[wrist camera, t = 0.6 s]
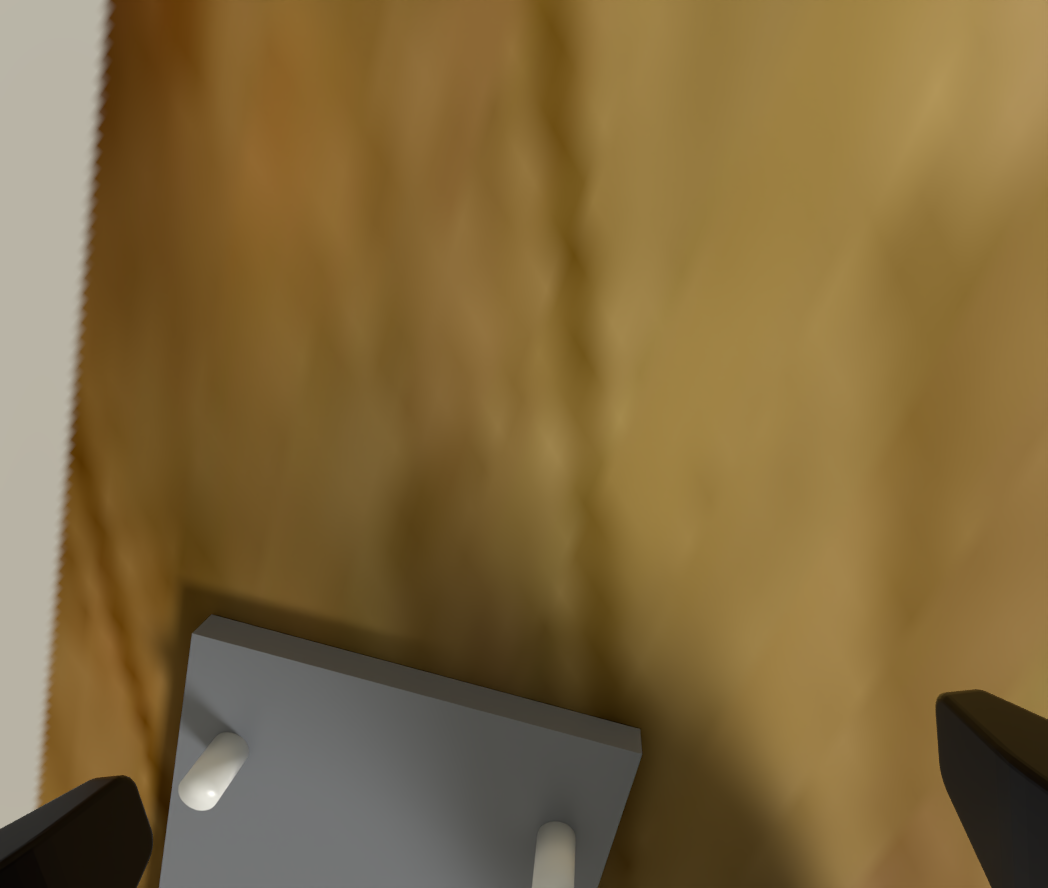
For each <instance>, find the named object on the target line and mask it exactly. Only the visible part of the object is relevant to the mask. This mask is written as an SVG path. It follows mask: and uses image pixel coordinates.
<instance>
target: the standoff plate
mask: <svg viewBox="0 0 1048 888" xmlns="http://www.w3.org/2000/svg"><path fill="white" fill-rule="evenodd" d="M641 757H642V744H641V733H640V729H638V728H634V727H631V726H627V725H623V724H619V723H616V722H612V721H608V720H604V719H601V718H597V717H593V716H589V715H586V714H582V713H578V712H574V711H571V710H567V709H563V708H560V707H556V706H552V705H548V704H545V703H541V702H537V701H533V700H530V699H526V698H522V697H518V696H515V695H511V694H507V693H503V692H500V691H496V690H492V689H488V688H485V687H481V686H477V685H474V684H470V683H466V682H462V681H459V680H455V679H451V678H447V677H444V676H440V675H436V674H432V673H429V672H425V671H421V670H417V669H414V668H410V667H406V666H403V665H399V664H395V663H391V662H388V661H384V660H380V659H376V658H373V657H369V656H365V655H361V654H358V653H354V652H350V651H346V650H343V649H339V648H335V647H332V646H328V645H324V644H320V643H317V642H313V641H309V640H305V639H302V638H298V637H294V636H290V635H287V634H283V633H279V632H275V631H272V630H268V629H264V628H260V627H257V626H253V625H249V624H246V623H242V622H238V621H234V620H231V619H227V618H223V617H219V616H216V615H212V614H211V615H210V616H209V617H208V618H207V619H206V620H205V621H204V622H203V623H202V624H201V625H200V626H199V627H198V628H197V629H196V630H195V631H194V632H193V633H192V638H191V645H190V653H189V661H188V668H187V676H186V684H185V692H184V699H183V707H182V715H181V722H180V730H179V738H178V745H177V753H176V761H175V768H174V776H173V784H172V792H171V799H170V807H169V815H168V822H167V830H166V838H165V845H164V853H163V861H162V868H161V876H160V884H159V888H598V885H599V882H600V879H601V876H602V873H603V870H604V867H605V864H606V861H607V858H608V855H609V852H610V849H611V846H612V843H613V840H614V837H615V834H616V831H617V828H618V825H619V822H620V819H621V816H622V813H623V810H624V807H625V804H626V801H627V798H628V795H629V792H630V789H631V786H632V783H633V780H634V777H635V775H636V772H637V769H638V766H639V763H640V760H641Z"/></svg>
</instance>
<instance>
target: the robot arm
mask: <svg viewBox="0 0 1048 888" xmlns="http://www.w3.org/2000/svg"><path fill="white" fill-rule="evenodd" d="M936 724H937V738H938V752H939V764H940V770H941V775H942V779H943V782H944V785H945V788H946V790H947V792H948V795H949V797H950V799H951V801H952V803H953V805H954V808H955V810H956V812H957V814H958V816H959V818H960V821H961V823H962V825H963V827H964V829H965V831H966V834H967V836H968V838H969V840H970V842H971V844H972V846H973V849H974V851H975V853H976V855H977V857H978V859H979V862H980V864H981V866H982V868H983V870H984V872H985V875H986V877H987V879H988V881H989V883H990V885H991V888H1048V719H1046V718H1043V717H1041V716H1039V715H1037V714H1035V713H1032V712H1030V711H1028V710H1026V709H1024V708H1021V707H1019V706H1017V705H1015V704H1013V703H1010V702H1008V701H1006V700H1004V699H1001V698H999V697H997V696H995V695H993V694H990V693H988V692H986V691H983V690H977V689H975V690H965V691H956V692H946V693H942V694H940V695H939V696H938V698H937V700H936ZM152 847H153V834H152V830H151V827H150V824H149V821H148V818H147V815H146V812H145V809H144V807H143V804H142V801H141V798H140V795H139V792H138V789H137V786H136V784H135V782H134V781H133V780H132V779H131V778H130V777H127V776H124V775H121V776H110V777H100V778H95V779H92V780H89V781H87V782H85V783H84V784H82V785H80V786H78V787H76V788H74V789H73V790H71V791H69V792H67V793H65V794H63V795H62V796H60V797H58V798H56V799H54V800H53V801H51V802H49V803H47V804H45V805H43V806H42V807H40V808H38V809H36V810H34V811H32V812H31V813H29V814H27V815H25V816H23V817H22V818H20V819H18V820H16V821H14V822H13V823H11V824H9V825H7V826H5V827H3V828H1V829H0V888H137V886H138V884H139V881H140V879H141V877H142V875H143V872H144V870H145V868H146V866H147V863H148V861H149V859H150V856H151V852H152Z"/></svg>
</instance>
